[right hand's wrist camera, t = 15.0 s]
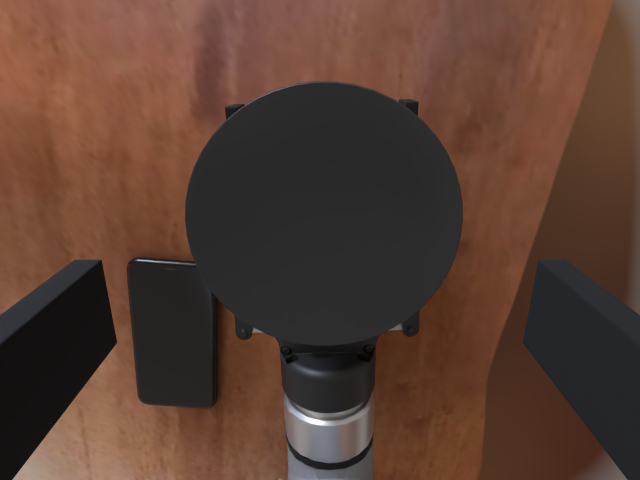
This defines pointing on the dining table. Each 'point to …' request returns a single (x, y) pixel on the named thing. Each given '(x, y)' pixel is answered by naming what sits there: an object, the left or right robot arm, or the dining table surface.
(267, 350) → the dining table surface
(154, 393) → the smartphone
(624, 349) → the right robot arm
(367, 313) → the lid
